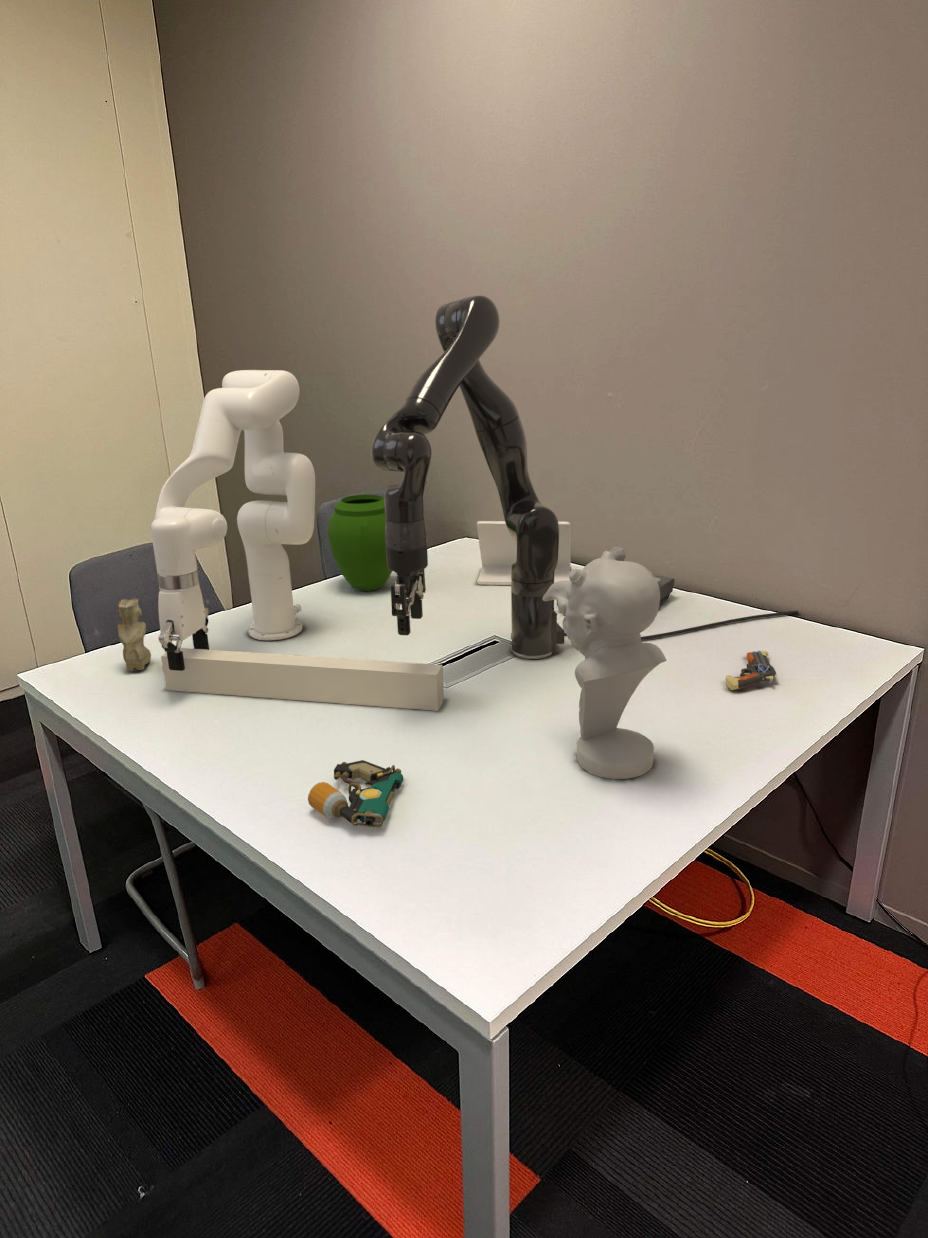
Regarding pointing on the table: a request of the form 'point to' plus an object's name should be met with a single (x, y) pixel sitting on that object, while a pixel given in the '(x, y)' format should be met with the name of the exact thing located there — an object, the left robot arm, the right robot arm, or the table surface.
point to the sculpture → (132, 635)
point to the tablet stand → (513, 553)
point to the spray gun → (358, 793)
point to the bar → (309, 678)
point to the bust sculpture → (610, 658)
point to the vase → (360, 541)
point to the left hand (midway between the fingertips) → (189, 660)
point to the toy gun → (753, 671)
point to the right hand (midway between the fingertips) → (410, 626)
